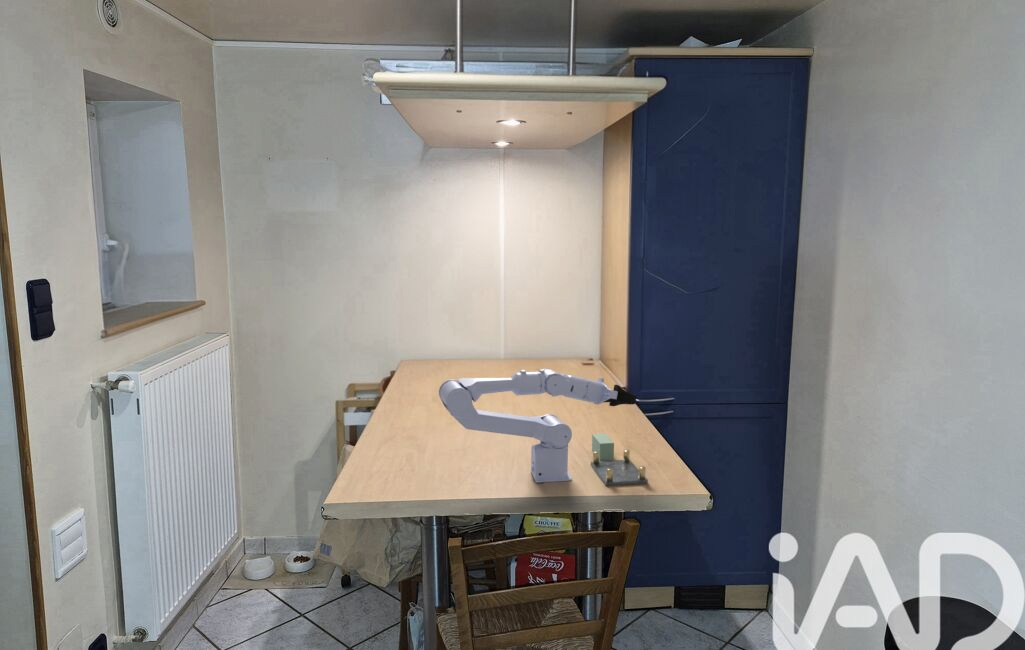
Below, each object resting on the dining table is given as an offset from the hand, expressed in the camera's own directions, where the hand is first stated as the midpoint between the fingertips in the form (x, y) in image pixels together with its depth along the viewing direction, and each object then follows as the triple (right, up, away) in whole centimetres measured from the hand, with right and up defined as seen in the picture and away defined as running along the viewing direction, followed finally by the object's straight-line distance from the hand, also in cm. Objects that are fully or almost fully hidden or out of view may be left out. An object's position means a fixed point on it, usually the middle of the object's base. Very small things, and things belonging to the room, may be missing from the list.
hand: (627, 399), depth 185 cm
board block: (-5, -17, +12) cm, 22 cm away
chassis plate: (-3, -19, -2) cm, 20 cm away
